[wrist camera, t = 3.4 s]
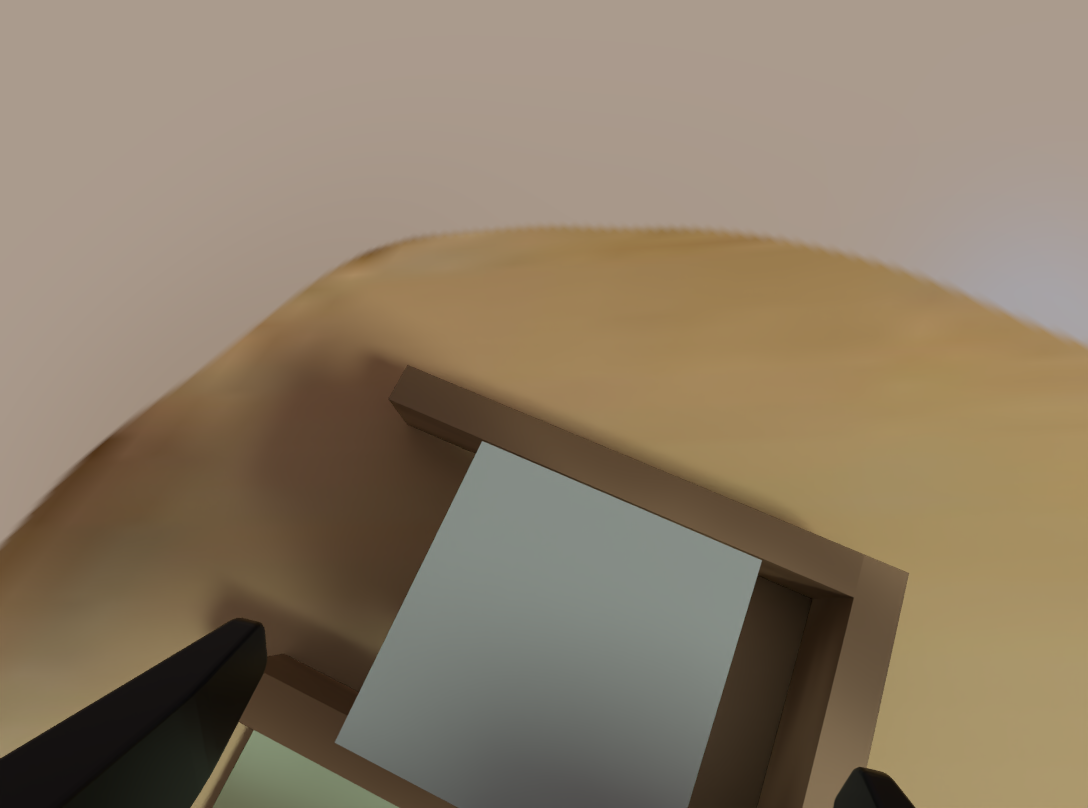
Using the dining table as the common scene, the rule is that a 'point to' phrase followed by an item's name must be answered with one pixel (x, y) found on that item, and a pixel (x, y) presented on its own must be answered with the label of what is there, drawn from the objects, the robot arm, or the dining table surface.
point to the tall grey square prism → (554, 649)
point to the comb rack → (785, 550)
